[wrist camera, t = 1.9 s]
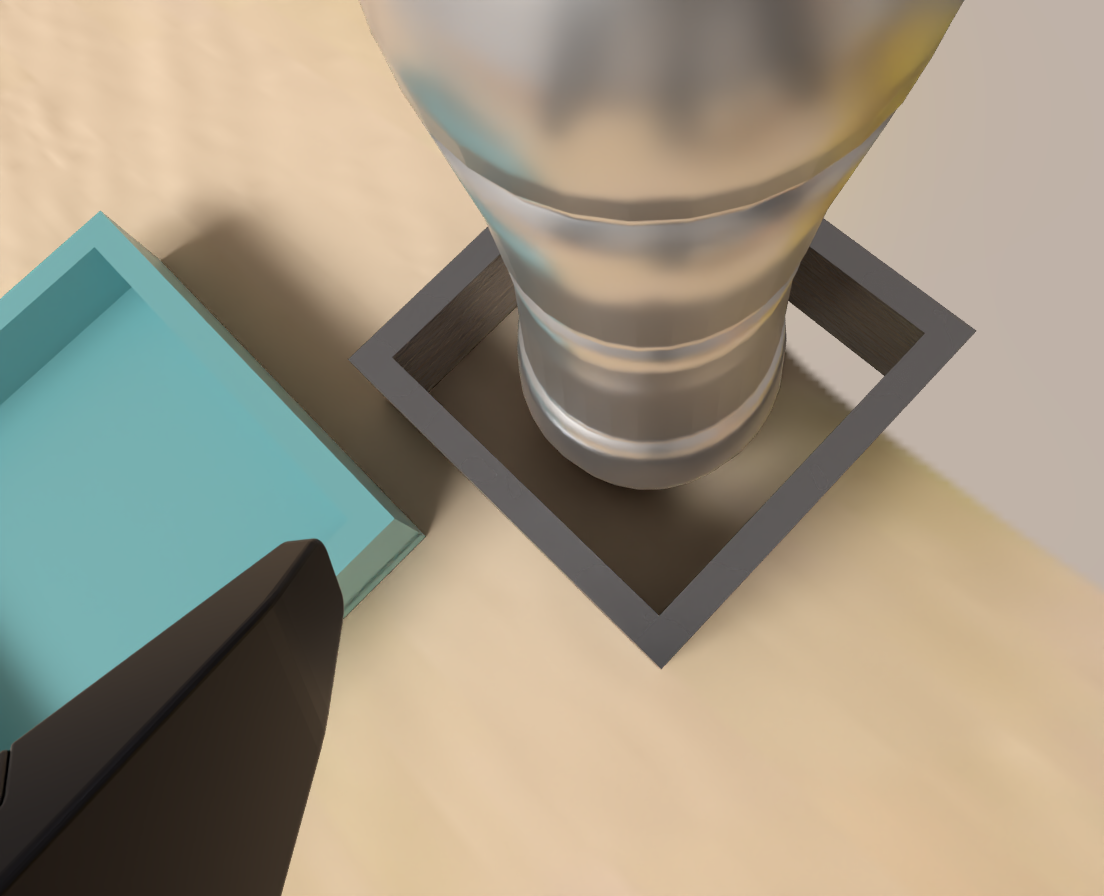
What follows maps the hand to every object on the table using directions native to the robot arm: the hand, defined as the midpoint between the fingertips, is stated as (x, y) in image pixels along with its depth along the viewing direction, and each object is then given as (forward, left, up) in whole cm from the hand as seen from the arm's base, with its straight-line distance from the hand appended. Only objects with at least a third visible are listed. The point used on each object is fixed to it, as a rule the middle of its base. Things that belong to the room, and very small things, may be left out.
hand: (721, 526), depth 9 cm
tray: (-10, +12, -12) cm, 20 cm away
